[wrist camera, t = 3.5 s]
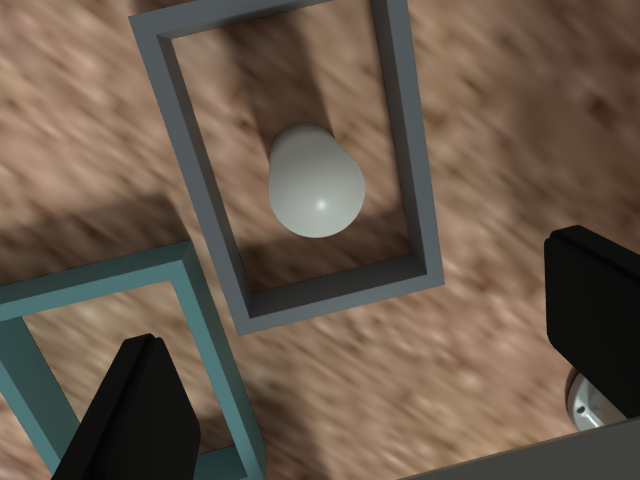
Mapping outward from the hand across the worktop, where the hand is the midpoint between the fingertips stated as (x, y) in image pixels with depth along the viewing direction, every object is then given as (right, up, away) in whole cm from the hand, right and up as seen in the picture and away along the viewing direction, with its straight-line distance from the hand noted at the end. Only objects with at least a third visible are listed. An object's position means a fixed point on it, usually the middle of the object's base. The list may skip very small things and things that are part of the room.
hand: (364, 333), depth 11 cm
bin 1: (-16, -10, +28) cm, 34 cm away
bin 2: (-2, +8, +23) cm, 24 cm away
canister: (-2, +8, +23) cm, 24 cm away
